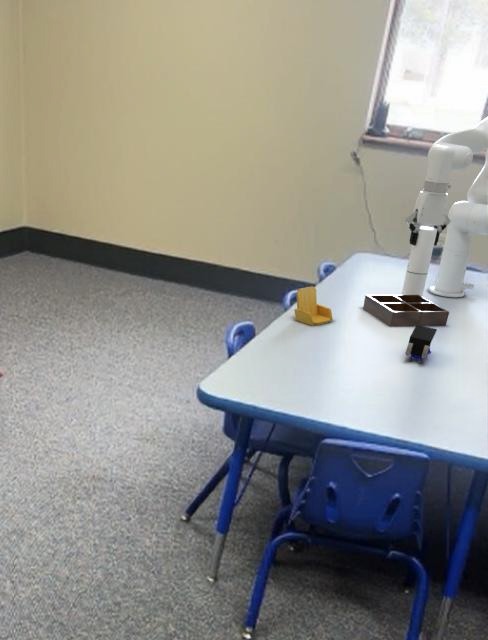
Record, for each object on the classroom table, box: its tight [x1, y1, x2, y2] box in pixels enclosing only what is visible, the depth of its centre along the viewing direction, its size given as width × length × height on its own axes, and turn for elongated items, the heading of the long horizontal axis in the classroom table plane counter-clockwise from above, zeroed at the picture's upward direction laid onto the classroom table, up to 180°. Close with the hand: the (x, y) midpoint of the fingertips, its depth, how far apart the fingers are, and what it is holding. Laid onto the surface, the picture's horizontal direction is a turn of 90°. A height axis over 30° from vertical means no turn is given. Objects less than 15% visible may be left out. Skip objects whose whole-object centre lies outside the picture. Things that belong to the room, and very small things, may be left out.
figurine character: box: [405, 325, 438, 364], centre depth 230 cm, size 7×8×15 cm
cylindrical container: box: [400, 225, 437, 297], centre depth 276 cm, size 7×7×25 cm
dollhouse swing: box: [294, 286, 334, 327], centre depth 254 cm, size 10×10×9 cm
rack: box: [362, 294, 450, 327], centre depth 266 cm, size 20×20×5 cm
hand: (423, 244), depth 272 cm, fingers closed on cylindrical container, 7 cm apart
